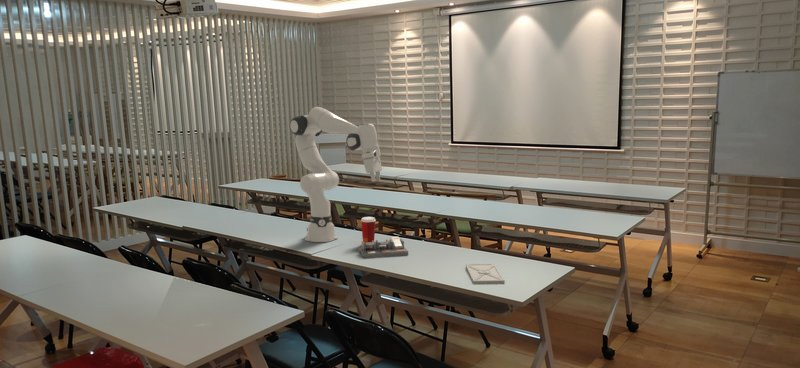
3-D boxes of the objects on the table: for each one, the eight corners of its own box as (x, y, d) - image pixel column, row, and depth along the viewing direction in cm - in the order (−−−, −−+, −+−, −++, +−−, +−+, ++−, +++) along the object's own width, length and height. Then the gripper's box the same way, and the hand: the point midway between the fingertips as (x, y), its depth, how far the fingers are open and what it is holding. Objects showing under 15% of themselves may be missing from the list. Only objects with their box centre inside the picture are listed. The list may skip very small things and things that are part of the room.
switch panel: (359, 251, 310) (359, 240, 309) (401, 248, 315) (401, 237, 314) (364, 257, 296) (364, 246, 295) (408, 254, 302) (408, 244, 301)
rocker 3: (390, 238, 313) (391, 236, 312) (398, 238, 314) (398, 236, 313) (395, 248, 304) (395, 246, 303) (402, 248, 305) (402, 246, 304)
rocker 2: (377, 245, 311) (377, 242, 311) (384, 244, 312) (384, 242, 312) (380, 244, 302) (380, 241, 302) (388, 243, 302) (388, 241, 303)
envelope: (473, 285, 255) (504, 284, 256) (473, 280, 255) (504, 279, 255) (465, 268, 279) (494, 267, 279) (465, 263, 279) (494, 263, 279)
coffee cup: (376, 243, 326) (376, 216, 324) (374, 246, 318) (374, 219, 316) (362, 242, 327) (361, 216, 325) (359, 246, 319) (359, 219, 317)
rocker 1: (363, 246, 309) (363, 243, 310) (370, 245, 310) (370, 243, 311) (366, 245, 300) (366, 242, 300) (374, 244, 301) (374, 242, 301)
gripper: (370, 154, 310) (375, 180, 311) (360, 155, 290) (365, 183, 291) (382, 152, 309) (386, 178, 309) (372, 153, 289) (377, 181, 289)
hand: (376, 180), depth 300 cm, fingers open, 8 cm apart
